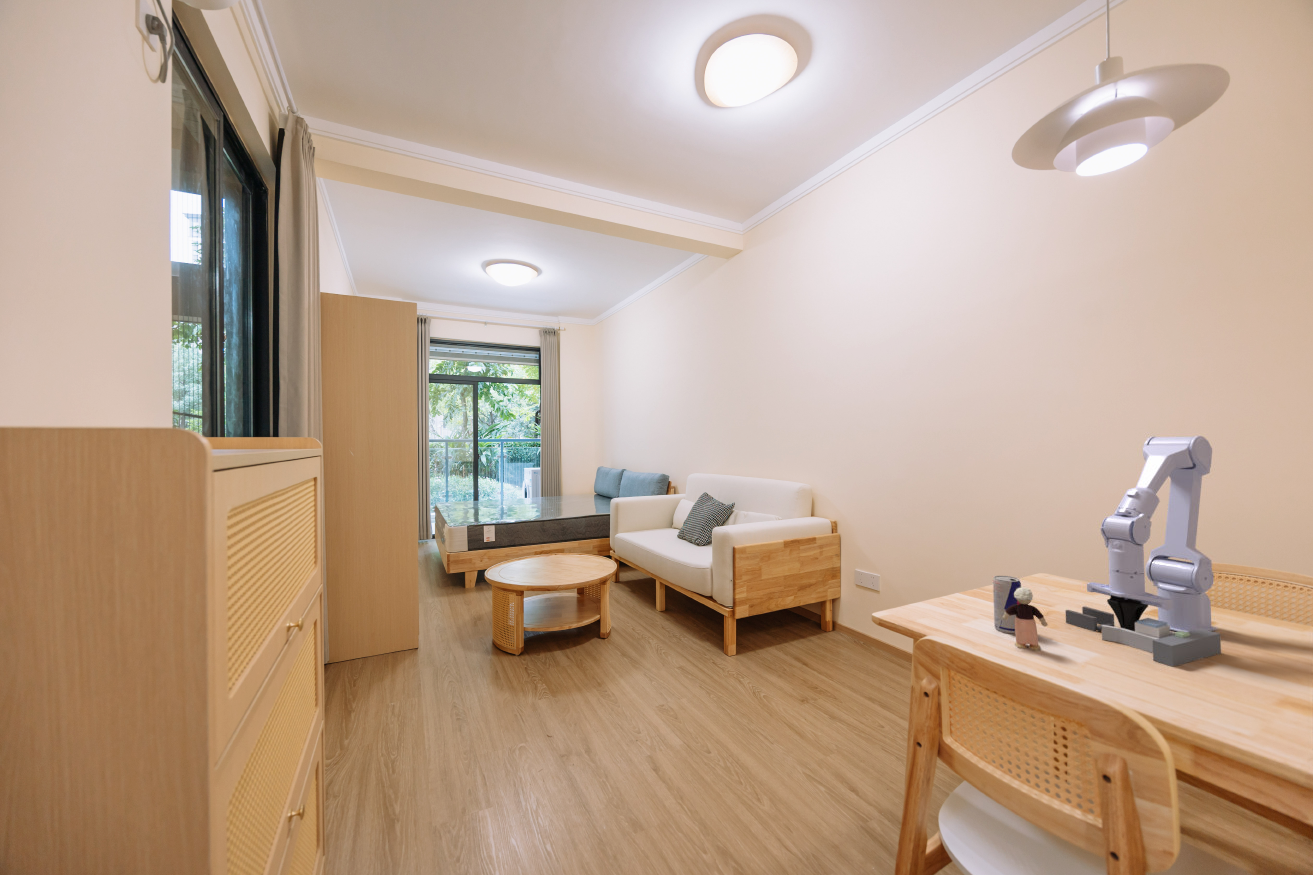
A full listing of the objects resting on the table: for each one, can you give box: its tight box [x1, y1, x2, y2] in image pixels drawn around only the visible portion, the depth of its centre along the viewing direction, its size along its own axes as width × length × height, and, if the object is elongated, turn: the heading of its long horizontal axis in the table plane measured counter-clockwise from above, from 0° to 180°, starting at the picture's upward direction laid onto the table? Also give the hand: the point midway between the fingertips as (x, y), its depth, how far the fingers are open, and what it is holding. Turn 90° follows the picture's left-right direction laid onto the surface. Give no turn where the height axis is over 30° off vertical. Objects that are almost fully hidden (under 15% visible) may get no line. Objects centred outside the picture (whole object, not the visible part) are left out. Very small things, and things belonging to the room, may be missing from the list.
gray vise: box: [1065, 606, 1115, 632], centre depth 121 cm, size 13×7×3 cm, turn 109°
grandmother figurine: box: [1002, 586, 1049, 652], centre depth 109 cm, size 8×4×13 cm, turn 71°
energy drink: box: [992, 575, 1022, 635], centre depth 118 cm, size 5×5×12 cm
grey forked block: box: [1101, 625, 1222, 668], centre depth 107 cm, size 16×14×5 cm
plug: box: [1135, 617, 1171, 639], centre depth 107 cm, size 4×4×6 cm
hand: (1128, 632), depth 111 cm, fingers closed
